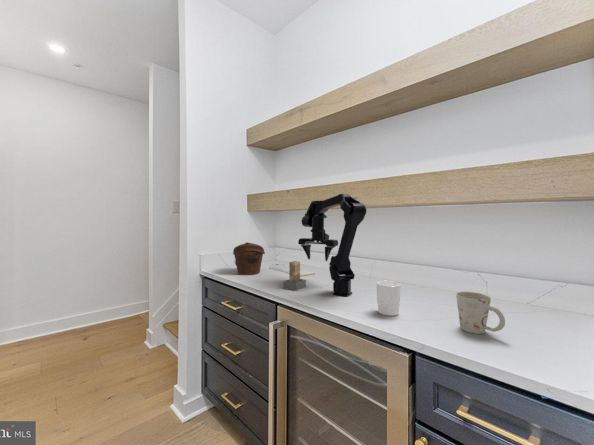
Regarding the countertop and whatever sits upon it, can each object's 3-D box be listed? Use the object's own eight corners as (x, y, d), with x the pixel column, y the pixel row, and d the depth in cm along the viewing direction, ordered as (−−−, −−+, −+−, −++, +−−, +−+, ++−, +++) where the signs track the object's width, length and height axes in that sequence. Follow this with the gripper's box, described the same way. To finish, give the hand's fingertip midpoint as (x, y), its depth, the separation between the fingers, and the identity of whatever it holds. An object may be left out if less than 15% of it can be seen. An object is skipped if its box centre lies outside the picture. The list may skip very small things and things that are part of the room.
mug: (466, 322, 85) (466, 290, 85) (513, 338, 74) (514, 301, 74) (449, 327, 81) (450, 293, 81) (497, 344, 70) (497, 305, 70)
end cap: (305, 286, 129) (305, 279, 129) (296, 290, 122) (296, 283, 122) (293, 284, 133) (293, 277, 133) (282, 288, 126) (282, 281, 126)
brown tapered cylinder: (249, 268, 175) (249, 240, 174) (271, 272, 162) (271, 242, 161) (225, 273, 161) (225, 242, 161) (247, 278, 148) (247, 244, 148)
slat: (299, 285, 129) (300, 261, 128) (295, 287, 125) (295, 262, 125) (294, 284, 130) (294, 261, 130) (289, 286, 126) (289, 262, 126)
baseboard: (298, 278, 150) (315, 275, 158) (298, 272, 150) (315, 270, 157) (268, 269, 175) (284, 267, 182) (268, 265, 175) (284, 263, 182)
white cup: (378, 316, 91) (378, 285, 91) (374, 308, 98) (375, 280, 98) (403, 317, 90) (403, 286, 89) (397, 309, 97) (398, 281, 97)
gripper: (342, 227, 133) (342, 259, 134) (309, 226, 143) (308, 256, 143) (333, 228, 124) (332, 262, 124) (297, 227, 134) (297, 259, 134)
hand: (317, 260), depth 132 cm, fingers open, 9 cm apart
